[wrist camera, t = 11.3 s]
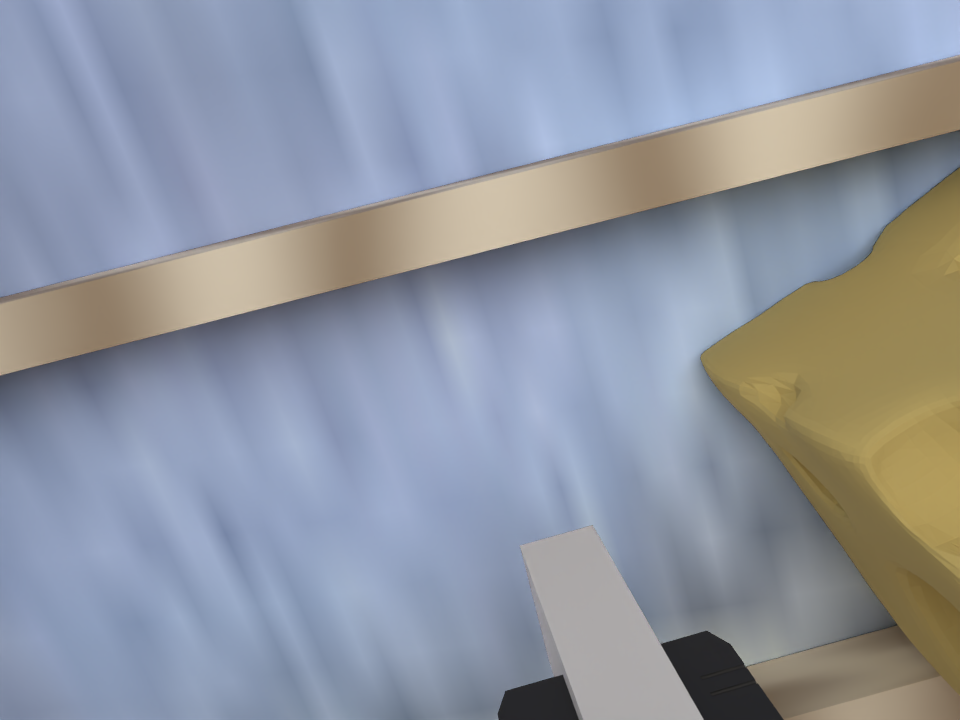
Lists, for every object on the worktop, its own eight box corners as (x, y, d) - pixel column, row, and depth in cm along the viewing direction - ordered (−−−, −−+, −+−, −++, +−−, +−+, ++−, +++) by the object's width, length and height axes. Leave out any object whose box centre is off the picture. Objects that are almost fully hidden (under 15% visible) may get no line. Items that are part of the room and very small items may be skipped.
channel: (115, 886, 26) (33, 1101, 20) (-122, 328, 22) (-311, 395, 16) (1283, 563, 27) (1527, 677, 21) (1273, -25, 23) (1572, -83, 17)
